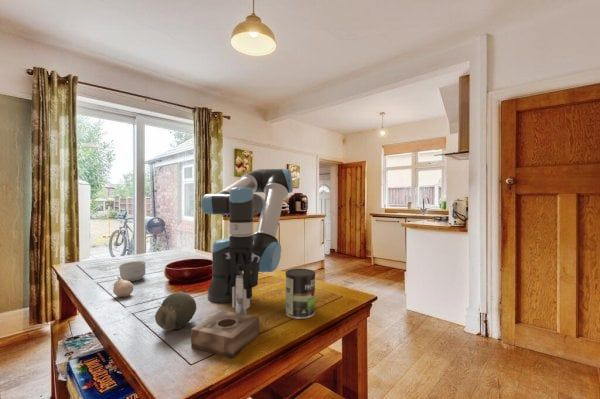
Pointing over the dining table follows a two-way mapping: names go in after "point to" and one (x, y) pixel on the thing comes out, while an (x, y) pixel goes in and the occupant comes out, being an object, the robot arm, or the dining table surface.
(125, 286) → the garlic bulb
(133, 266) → the teacup
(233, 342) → the bore block
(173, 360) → the dining table surface
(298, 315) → the coffee can
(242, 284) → the pin
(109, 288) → the dining table surface
